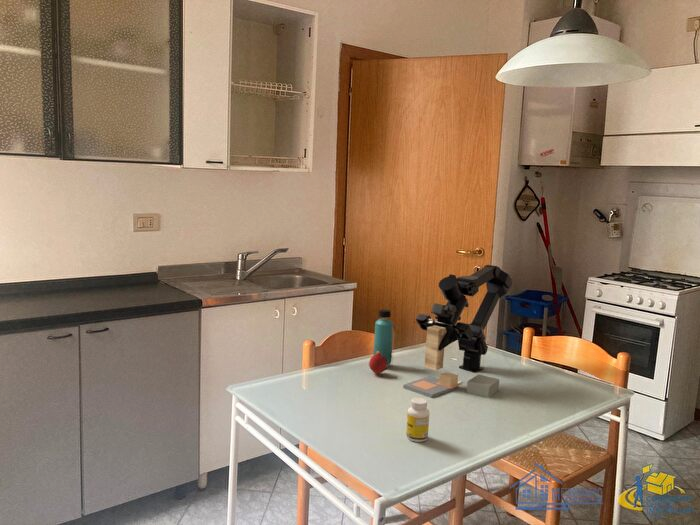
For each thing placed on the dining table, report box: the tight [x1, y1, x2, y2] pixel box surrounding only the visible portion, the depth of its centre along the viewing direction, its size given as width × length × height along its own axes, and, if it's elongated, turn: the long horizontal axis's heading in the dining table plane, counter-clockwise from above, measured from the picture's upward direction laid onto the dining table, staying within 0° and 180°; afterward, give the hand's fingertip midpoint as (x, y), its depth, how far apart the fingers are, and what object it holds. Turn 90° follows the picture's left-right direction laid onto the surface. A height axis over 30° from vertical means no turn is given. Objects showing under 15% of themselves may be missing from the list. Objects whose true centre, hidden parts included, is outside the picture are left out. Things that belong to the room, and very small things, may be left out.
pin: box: [424, 325, 446, 371], centre depth 185 cm, size 4×4×13 cm
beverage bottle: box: [373, 309, 394, 366], centre depth 202 cm, size 6×7×20 cm
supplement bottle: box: [405, 397, 430, 443], centre depth 146 cm, size 5×5×10 cm
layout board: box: [402, 371, 462, 399], centre depth 184 cm, size 15×12×4 cm
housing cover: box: [466, 373, 500, 398], centre depth 183 cm, size 9×7×4 cm
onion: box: [368, 351, 388, 376], centre depth 193 cm, size 6×6×8 cm
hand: (432, 348), depth 184 cm, fingers closed on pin, 4 cm apart
